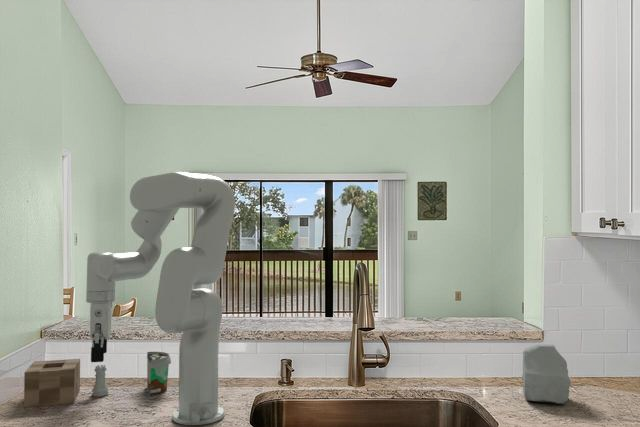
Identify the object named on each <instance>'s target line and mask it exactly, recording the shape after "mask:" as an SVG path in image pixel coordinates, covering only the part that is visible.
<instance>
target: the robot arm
mask: <svg viewBox="0 0 640 427" xmlns="http://www.w3.org/2000/svg"><path fill="white" fill-rule="evenodd" d="M129 201H130V203H131V206H132V207H133V208H134V209H135V210H137V212H136V213H135V214H134V216H133V217H132V219H131V221H130V226H131V229H132V230H133V232H134V233H135V234H136V235H137V236H138V237H139V238H141V239H142V240H143V241H142V243H141V245H140V246H139V248H138V249H136V251H133V252H132V251H130V252H129V251H128V252H117V253H116V252H115V253H114V252H110V251H94V252H90V253H89V254H88V255H87V258H86V260H87V262H86V263H87V264H86V292H85V294H86V296H85V299H86V300H85V302H86V303H89V304H90V308H89V309H90V310H89V311H90V312H89V334H90V336H89V337H90V339H91V340H92V341H91V347H90V348H91V349H90V350H91V351H90V363H103V362H104V360H105V358H104V357H105V354H106V353H107V352H108V351H107V350H108V349H107V348H108V347H107V346H108V339H109V338H110V337H111V333H112V303H115V301H116V282H118V281H119V282H120V281H125V280H126V281H128V280H136V279H137V280H138V279H141V278H144V277H145V276H147V274H148V273H150V272H151V270H152V269H153V268H154V266H155V265H156V264H157V262H158V261H159V259H160V257H161V253H162V238H161V237H162V235H163V233H164V232H165V230H166V229H167V227H168V226H169V225H170V223H171V221H173V219H174V217H175V216H176V214H178V212H179V210H180V209H202V210H203V212H202V214H201V215H200V217H199V218H198V220H197V221H196V223H195V226H194V229H193V236H192V240H191V244H190V246H184V247H183V246H182V247H177V248H174V249H173V250H171V251H170V252H168V254H167V255H166V257H165V258H164V260H163V262H162V265H161V268H160V269H161V270H160V276H159V281H158V282H159V283H158V288H157V293H156V301H155V311H154V312H155V313H154V314H155V320H156V323H157V326H158V327H159V329H160V330H161V331H163V332H164V333H168V334H179V333H182V334H181V337H180V342H179V347H178V348H179V350H178V352H179V354H178V355H179V356H178V408H177V409H175V410H174V411H173V412H172V414H171V418H172V421H174V422H175V423H177V424H179V425H184V426H202V425H203V426H204V425H209V424H214V423H216V422H218V421H220V420H222V419H223V418H224V416H225V409H224V408H222V407H221V406H220V405H219V347H220V346H219V344H220V343H219V340H220V329H221V323H222V318H223V310H224V309H223V307H224V306H223V302H222V299H221V297H220V295H219V293H217V292H216V291H214V290H213V289H211V288H206V287H205V288H204V287H202V288H199V287H201V286H206V285H207V286H208V285H211V284H215V283H217V282H218V281H219V280H220V279H221V277H222V275H223V272H224V266H225V262H226V256H227V249H228V243H229V235H230V231H231V226H232V221H233V220H234V215H235V211H236V198H235V194H234V191H233V190H232V188H231V186H230V185H229V184H228V182H227V181H225V180H223V179H222V178H220V177H218V176H215V175H214V176H213V175H210V174H205V173H204V174H203V173H192V172H183V171H172V172H167V173H161V174H157V175H156V174H154V175H151V176H150V175H149V176H145V177H142V178H139V179H138V180H137V181H136V182H134V184H133V185H132V186H131V189H130V191H129ZM194 287H198V288H194Z"/></svg>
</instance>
